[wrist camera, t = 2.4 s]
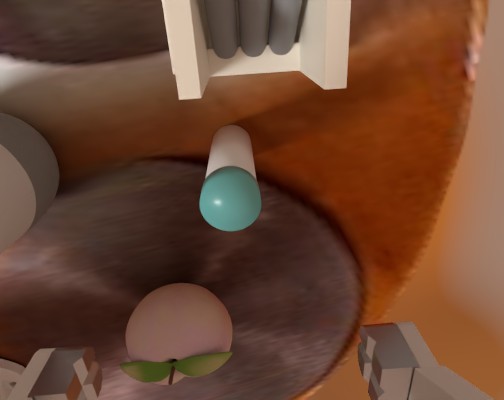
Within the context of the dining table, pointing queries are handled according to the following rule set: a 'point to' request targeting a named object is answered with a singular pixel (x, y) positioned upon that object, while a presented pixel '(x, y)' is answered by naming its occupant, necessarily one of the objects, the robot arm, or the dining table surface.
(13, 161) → the smart speaker
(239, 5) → the tilted socket
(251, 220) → the marker
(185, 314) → the decorative fruit
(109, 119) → the dining table surface
